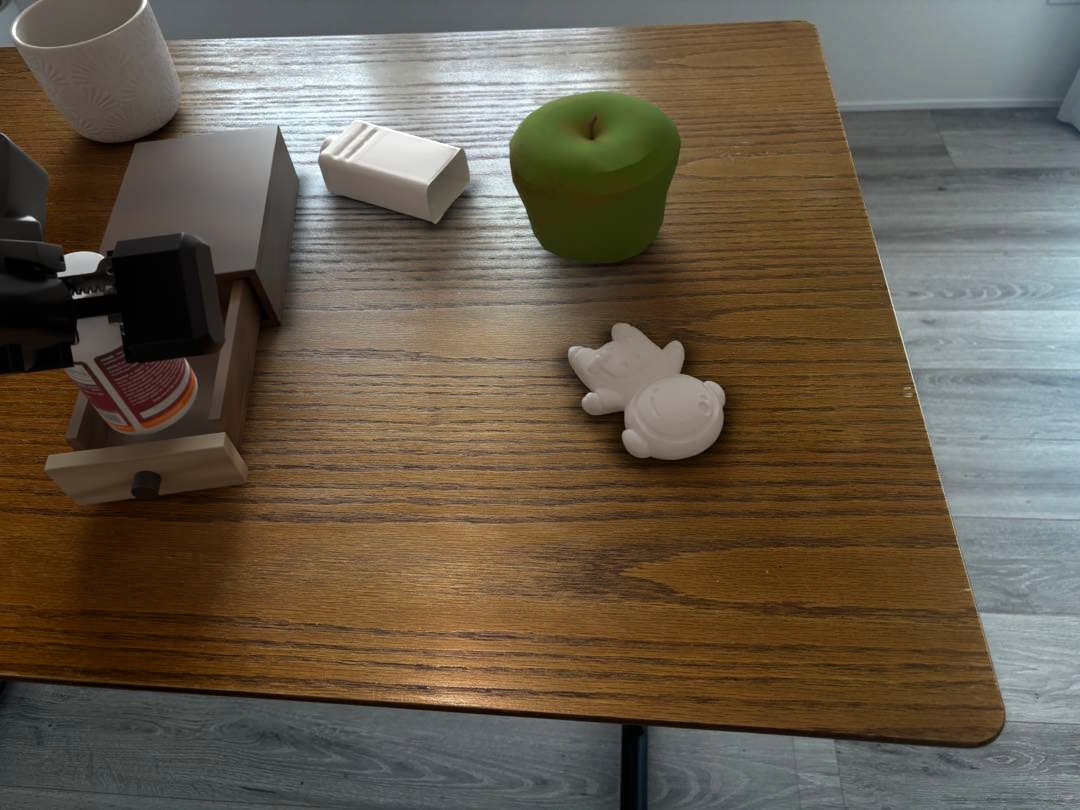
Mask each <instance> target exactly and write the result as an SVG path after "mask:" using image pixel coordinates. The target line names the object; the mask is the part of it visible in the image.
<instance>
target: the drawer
mask: <svg viewBox="0 0 1080 810" xmlns="http://www.w3.org/2000/svg"><path fill="white" fill-rule="evenodd" d="M216 285H217V291H218V297H219V303H220V309H221V315H222V321H223V327H224V333H225V339H226V342H225V344H224V345H223V346H222V348H221V349H220V351H219V352H218V353H217V354H211V355H203V356H195V357H188V358H185V359H186V361H187V362H188V364H189V365H190V367H191V369H192V370H193V372H194V374H195V376H196V379H197V383H198V391H197V396H196V399H195V401H194V403H193V405H192V407H191V408H190V409H189V411H188V412H187V413H186V414H185V415H184V416H183V417H182V418H180V419H179V420H178V421H177V422H175V423H174V424H172V425H170V426H169V427H167V428H165V429H162V430H160V431H157V432H154V433H151V434H146V435H126V434H123V433H120V432H118V431H116V430H114V429H113V428H112V427H111V426H110V425H109V424H108V423H107V422H106V421H105V420H104V419H103V418H102V416H101V415H100V414H99V413H98V412H97V410H96V409H95V408H94V406H93V405H92V404H91V403H90V401H89V400H88V399H87V398H86V396H85V395H84V394H83V393H82V391H81V390H80V389H79V391H78V393H77V397H76V400H75V403H74V407H73V410H72V412H71V416H70V418H69V419H70V420H69V423H68V425H67V429H66V432H65V436H64V438H63V439H64V441H65V442H66V443H67V444H68V446H69V447H70V448H71V449H72V450H73V451H71V452H64V453H54V454H49V455H48V456H47V459H46V462H45V465H44V468H43V472H44V473H45V474H46V475H47V476H48V477H49V478H50V479H51V480H52V481H53V482H54V483H55V484H56V485H57V486H58V487H59V488H60V489H61V490H62V491H63V493H65V494H66V495H67V496H68V497H69V498H70V499H71V501H73V502H74V504H76V506H85V505H95V504H100V503H101V504H102V503H109V502H117V501H125V500H132V499H138V500H143V501H151V500H154V499H156V498H158V497H159V496H162V495H170V494H177V493H178V494H179V493H184V492H192V491H193V492H194V491H201V490H208V489H216V488H224V487H230V486H232V487H233V486H239V485H246V484H247V483H248V478H249V477H248V475H249V467H248V466H247V464H246V462H245V461H244V459H243V458H242V456H241V453H242V447H243V438H244V433H245V426H246V420H247V413H248V406H249V399H250V393H251V388H252V387H251V385H252V380H253V372H254V366H255V360H256V354H257V353H256V352H257V346H258V339H259V333H260V332H259V331H260V328H259V326H260V319H261V313H262V306H263V305H262V303H261V301H260V299H259V297H258V295H257V293H256V290H255V288H254V286H253V284H252V282H251V280H250V278H249V277H245V278H237V279H229V280H222V281H216Z"/></svg>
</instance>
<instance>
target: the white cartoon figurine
mask: <svg viewBox="0 0 1080 810" xmlns="http://www.w3.org/2000/svg"><path fill="white" fill-rule="evenodd" d="M611 339H612V341H609V342H607V343H606V344H603V345H602V346H601V347H599V348H597V349H593V348H590V347H584V346H582V345H576V346H571V347H569V349H568V351H567V358H568V363H569V365H570V367H571V368H572V369H573V371H574V373H575V375H576V376H577V377H578V379H580V381H581V382H582V384H584V385H585V387H587V388H588V389H589V390H590V391H591V392H587V394H586V395H585V396H584V397H583V398H582V399H581V407H582V409H583V410H584V411H585V413H587V414H588V415H590V416H601V415H608V414H611V413H617V412H624V418H623V420H624V427H625V429H624V430H623V431H622V434H621V439H622V443H623V446H624V448H625V450H626V451H627V452H628V453H629V454H630V455H632V456H633V457H635V458H639V459H646V458H649V457H651V458H654V459H658V460H668V461H669V460H670V461H675V460H681V459H682V460H683V459H687V458H690V457H694V456H697V455H699V454H701V453H702V452H704V451H706V450H707V449H708V448H710V447H711V446H713V444H714V443H715V442H716V441H717V439H718V437H719V436H720V434H721V431H722V429H723V425H724V419H725V418H724V410H723V409H724V406H725V404H726V396H725V395H726V394H725V391H724V389H723V388H722V386H721V385H719V384H718V383H716V382H714V381H712V380H707V381H704V382H703V381H701V380H700V379H699V378H697V377H694V376H691V375H688V374H684V373H681V371H682V368H683V365H684V361H685V349H684V347H683V344H682V343H681V342H680V341H678V340H671V342H668V344H666V345H665V347H663V349H661V347H659V345H656V344H655V343H654V342H653V341H651V340H650V339H649V338H648V336H646V334H644V332H642V331H641V330H640V329H638V328H636V327H635V326H631V325H630V324H629V323H626V322H624V323H623V322H617V323H615V324H614V325H613V326H612V328H611Z"/></svg>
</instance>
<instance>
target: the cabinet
mask: <svg viewBox="0 0 1080 810" xmlns="http://www.w3.org/2000/svg"><path fill="white" fill-rule="evenodd" d="M131 153H132V154H131V156H130V158H129V162H128V165H127V167H126V170H125V173H124V177H123V179H122V182H121V185H120V188H119V191H118V194H117V197H116V199H115V204H114V205H113V209H112V211H111V215H110V217H109V220H108V223H107V226H106V229H105V232H104V234H103V238H102V241H101V242H100V247H99V250H98V253H97V254H100V255H102V256H103V257H104V258H105V257H107V254H106V251H109V250H114V248H115V246H116V243H117V241H121V240H129V239H137V238H144V237H152V236H160V235H167V234H175V233H187V234H191V235H195V236H198V237H199V238H201V239H202V240H203V241H205V242H206V243H207V244H209V245H210V250H211V255H212V261H213V267H214V273H215V279H216V281H222V280H229V279H237V278H245V277H249V278H250V280H251V282H252V284H253V286H254V288H255V290H256V293H257V295H258V297H259V299H260V301H261V303H262V305H263V306H262V313H261V319H260V326H259V329H263V328H273V327H280V326H282V320H283V314H284V305H285V297H286V291H287V283H288V282H287V281H288V274H289V265H290V259H291V258H290V257H291V251H292V242H293V235H294V228H295V227H294V226H295V219H296V212H297V211H296V210H297V204H298V203H297V202H298V194H299V188H300V187H299V186H300V179H299V176H298V174H297V171H296V168H295V165H294V163H293V159H292V156H291V154H290V152H289V149H288V146H287V144H286V141H285V138H284V136H283V133H282V130H281V128H280V125H279V124H274V125H265V126H257V127H250V128H243V129H235V130H228V131H221V132H219V131H218V132H212V133H204V134H197V135H187V136H182V137H173V138H165V139H159V140H150V141H143V142H136V143H135V144H134V147H133V149H132V152H131Z"/></svg>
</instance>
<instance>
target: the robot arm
mask: <svg viewBox="0 0 1080 810" xmlns="http://www.w3.org/2000/svg"><path fill="white" fill-rule="evenodd" d="M49 188H50V176H49V173H48V171H47V170H46V169H45V167H43V166H42V165H41V164H39V163H38V161H36V160H35V159H34V158H32V157H31V156H30V154H28V153H27V152H26V151H25V150H23V149H22V148H21V147H19V146H18V144H16V143H15V142H14V141H13V140H11V139H10V138H9V137H8V135H5V134H4V133H3V132H0V378H2V377H10V376H17V375H25V374H32V373H33V374H34V373H39V372H49V371H55V370H64V368H72V367H75V366H74V361H73V355H72V350H71V346H76V345H78V344H79V342H80V339H79V333H78V330H77V320H85V319H93V318H100V317H108V322H109V326H116V325H119V327H120V332H121V338H122V343H123V349H124V355H125V360H126V364H131V363H148V362H156V361H164V360H172V359H180V358H188V357H195V356H203V355H211V354H217V353H218V352H219V351H220V349H221V348H222V346H223V345H224V344H225V342H226V339H225V333H224V327H223V321H222V315H221V309H220V303H219V297H218V291H217V285H216V279H215V273H214V267H213V261H212V255H211V250H210V245H209V244H207V243H206V242H205V241H203V240H202V239H201V238H199V237H198V236H195V235H191V234H187V233H175V234H167V235H160V236H152V237H144V238H137V239H129V240H121V241H117V243H116V246H115V248H114V250H109V251H106V254H107V257H105V258H103V259H102V260H100V262H99V263H98V266H97V269H96V271H95V272H93V273H85V274H78V275H70V276H62V277H58V274H57V273H58V272H65V271H66V264H65V259H64V255H65V254H64V249H63V245H61V244H55V243H54V244H53V243H48V242H45V240H44V237H45V235H46V231H47V197H48V196H47V195H48V194H47V193H48V192H47V191H48V189H49ZM106 286H112V288H105V287H106ZM90 290H91V292H92V293H97V290H99V292H103V295H101V296H93V297H85V298H78V299H73V297H72V296H74V294H75V293H76V295H82V291H83V292H84V294H90Z"/></svg>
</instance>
